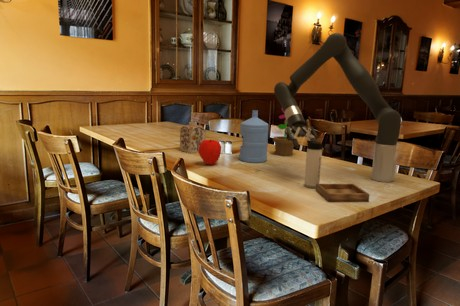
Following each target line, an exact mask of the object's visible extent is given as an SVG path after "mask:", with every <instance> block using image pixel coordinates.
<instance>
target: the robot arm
mask: <svg viewBox="0 0 460 306" xmlns="http://www.w3.org/2000/svg"><path fill="white" fill-rule="evenodd" d="M332 58H333V59H334V60H335V62H337V63H338V65H339V66H340V68H341V70H342V71H343V74H344V75H345V77H346V79H347V81H348V82H349V84H350V86H351V87H352V88H353V90H354V91H355V92H356V94H357V95H358V96H359V97H360V99H361V100H362V101H363V102H364V103H365V104H366V105H367V106H368V108H369V110H370V111H371V112H372V114H373V116H374V118H375V120H376V122H377V124H378V125H377V126H378V128H377V133H376V137H375V141H374V151H373V158H372V159H373V160H372V168H371V176H370V178H371V180H373V181H376V182H381V183H382V182H383V183H390V182H395V176H396V168H397V160H396V153H397V147H398V146H397V145H398V140H399V137H400V131H401V126H402V116H401V113H399V112H398V111H397V110H395V109H393V108H392V107H391V106H390V105H389V104H388V102H387V101H386V100H385V98H384V97H383V96H382V94H381V91H380V88H379V87H378V84H377V82H376V81H375V79H374V78H373V76H372V74H370V71H368V70H367V68H366V67H365V66H364V65H363V64H362V62H361V61H359V60H358V59H357V57H356V56H355V55H354V54H353V52H352V51H351V49H350V47H349V46H348V43H347V39H346V37H345V36H344V34H341V33H339V32H334V33H331V34H329V35H328V37H327V38H326V40H325V41H324V42H323V44H322V45H321V46H320V47H319V48H318V49H317V51H316V52H314V54H313V55H312V56H311V57H310V58H308V59H307V60H306V61H304V63H302V64H301V66H299V67H298V68H297V69H296V70H295V71H294V72H292V74H291V75H290V76H289V80H290V82H289V84H287V83H286V82H284V81H279V82H277V83H276V84H275V85H274V88H273V89H274V90H273V92H274V96H275V97H276V99H277V101H278V103H279V104H280V106H281V108H283V111H284V113H283V114H284V115H285V119H286V120H287V123H288V124H287V127H286V129H284V133H286V137H287V140H288V141H290V140H291V141H292V142H293V144H294V148H295V149H299V147H300V143H299V141H298V138H305V139H307V140H309V141H316V139H317V138H318V134H317V132H316V130H315V127H314V126H310V127H308V126H307V125H306V120H305V118H304V116H303V115H304V114H302V113H303V112H302V111H301V109H300V108H299V106H298V103H297V101H296V99H295V98H294V96H296V94H297V92H298V91H299V90H300V88H301V87H302V86H303V85H304V83H306V82H307V81H308V80H309V79H310V78H311V77H312V76H313V75H314V74H315V73H316V72H317V71H318V70H319V69H320V68H321V67H322V66H323V65H324V64H326V62H328V61H329V60H330V59H332ZM283 111H282V112H283ZM291 132H292V134H291ZM296 138H297V139H296Z"/></svg>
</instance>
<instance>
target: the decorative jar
mask: <svg viewBox="0 0 460 306" xmlns="http://www.w3.org/2000/svg"><path fill="white" fill-rule="evenodd" d="M204 140H207V139H206V130H205V128H204V126H203V125H199V124H197V122H196V121H195V122H194V121H189V122H188V124H184V125H182V126H181V128H180V129H179V150H180V151H181V152H185V153H187V152H188V154H196V152H198V153H199V146H200V144H201V142H202V141H204Z"/></svg>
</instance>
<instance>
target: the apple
mask: <svg viewBox="0 0 460 306" xmlns="http://www.w3.org/2000/svg"><path fill="white" fill-rule="evenodd" d="M221 145H222V144H221V143H220V142H219V141H218V140H216V139H205V140H204V141H202V142H201V144H200V146H199V152H198V154H199V157H200V158H201V160H202V161H203V162H204V163H205V164H206V165H208V166H209V165H211V166H213V165H215V164H216V163H217V162H218V161H219V158H221V157H220V156H221V154H222V146H221Z"/></svg>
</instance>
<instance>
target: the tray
mask: <svg viewBox="0 0 460 306" xmlns="http://www.w3.org/2000/svg"><path fill="white" fill-rule="evenodd" d="M315 192H317V193H318V194H319V195H320V196H321V197H322V198H323V199H325V201H326V202H328V203H345V202H346V203H359V202H360V203H363V202H364V203H368V202H369V201H370V193H369V192H367V191H365V190H364V189H362V188H361V187H359V186H358V185H356V184H355V183H319V184H316V188H315Z"/></svg>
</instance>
